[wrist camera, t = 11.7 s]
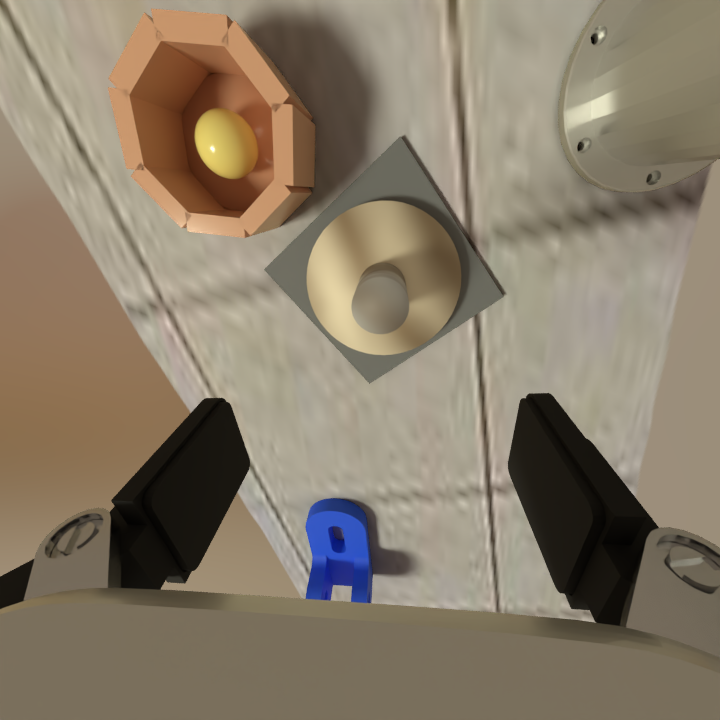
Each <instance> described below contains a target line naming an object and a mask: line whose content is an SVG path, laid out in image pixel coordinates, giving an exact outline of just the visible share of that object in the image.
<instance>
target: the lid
mask: <svg viewBox="0 0 720 720" xmlns="http://www.w3.org/2000/svg"><path fill="white" fill-rule="evenodd" d="M460 288H461V266H460V261H459V257H458V253H457V250H456V248H455V245H454V243H453V241H452V240H451V238H450V236H449V234H448V233H447V232H446V231H445V229H444V228H443V227H442V225H440V224H439V223H438V222H437V221H436V220H435V219H434V218H433V217H432V216H430V215H429V214H427V213H426V212H424V211H422V210H420V209H418V208H416V207H415V206H412V205H409V204H406V203H403V202H397V201H383V200H381V201H373V202H368V203H364V204H361V205H358V206H356V207H353V208H351V209H349V210H347V211H346V212H344V213H342V214H341V215H339V216H338V217H337V218H335V219H334V220H333V221H332V222H331V223H330V224H329V225H328V226H327V227H326V228H325V229H324V230H323V232H322V233H321V235H320V236H319V238H318V239H317V241H316V243H315V245H314V247H313V249H312V252H311V255H310V258H309V262H308V267H307V290H308V296H309V300H310V303H311V306H312V308H313V310H314V313H315V315H316V317H317V318H318V320H319V321H320V323H321V324H322V325H323V327H324V328H325V329H326V330H327V331H328V332H329V333H330V334H331V335H332V336H333V337H334V338H335V339H337V340H338V341H339V342H341V343H342V344H344V345H346V346H348V347H350V348H352V349H354V350H357V351H360V352H363V353H368V354H373V355H393V354H398V353H403V352H406V351H409V350H412V349H414V348H416V347H419V346H420V345H422V344H424V343H425V342H427V341H428V340H430V339H431V338H432V337H434V336H435V335H436V334H437V333H438V332H439V331H440V330H441V329H442V328H443V326H444V325H445V324H446V323H447V321H448V320H449V318H450V316H451V315H452V313H453V311H454V308H455V306H456V304H457V301H458V297H459V293H460Z"/></svg>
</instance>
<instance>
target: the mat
mask: <svg viewBox="0 0 720 720" xmlns="http://www.w3.org/2000/svg"><path fill="white" fill-rule="evenodd" d="M381 200H383V201H397V202H403V203H406V204H409V205H412V206H415V207H416V208H418V209H420V210H422V211H424V212H426V213H427V214H429V215H430V216H432V217H433V218H434V219H435V220H436V221H437V222H438V223H439V224H440V225H442V227H443V228H444V229H445V231H446V232H447V233H448V234H449V236H450V238H451V240H452V241H453V243H454V245H455V248H456V250H457V253H458V257H459V261H460V266H461V288H460V293H459V297H458V301H457V304H456V306H455V308H454V311H453V313H452V315H451V316H450V318H449V320H448V321H447V323H446V324H445V325H444V326H443V328H442V329H441V330H440V331H439V332H438V333H437V334H436V335H435V336H434V337H432V338H431V339H430V340H428V341H427V342H425V343H424V344H422V345H420V346H419V347H416V348H414V349H412V350H409V351H406V352H403V353H398V354H393V355H373V354H368V353H363V352H360V351H357V350H354V349H352V348H350V347H348V346H346V345H344V344H342V343H341V342H339V341H338V340H337V339H335V338H334V337H333V336H332V335H331V334H330V333H329V332H328V331H327V330H326V329H325V328H324V327H323V325H322V324H321V323H320V321H319V320H318V318H317V317H316V315H315V313H314V310H313V308H312V306H311V303H310V300H309V296H308V290H307V267H308V262H309V258H310V255H311V252H312V249H313V247H314V245H315V243H316V241H317V239H318V238H319V236H320V235H321V233H322V232H323V230H324V229H325V228H326V227H327V226H328V225H329V224H330V223H331V222H332V221H333V220H334V219H335V218H337V217H338V216H339V215H341V214H342V213H344V212H346V211H347V210H349V209H351V208H353V207H356V206H358V205H361V204H364V203H368V202H373V201H381ZM264 270H265V271H266V272H267V273H268V274H269V275H270V277H271V278H272V279H273V280H274V281H275V282H276V283H277V284H278V285H279V286H280V287H281V288H282V289H283V291H284V292H285V293H286V294H287V295H288V296H289V297H290V298H291V299H292V300H293V301H294V302H295V304H296V305H297V306H298V307H299V308H300V309H301V310H302V311H303V312H304V313H305V314H306V315H307V317H308V318H309V319H310V320H311V321H312V322H313V323H314V324H315V325H316V326H317V327H318V328H319V329H320V331H321V332H322V333H323V334H324V335H325V336H326V337H327V338H328V339H329V340H330V341H331V342H332V344H333V345H334V346H335V347H336V348H337V349H338V350H339V351H340V352H341V353H342V354H343V355H344V357H345V358H346V359H347V360H348V361H349V362H350V363H351V364H352V365H353V366H354V367H355V368H356V369H357V371H358V372H359V373H360V374H361V375H362V376H363V377H364V378H365V379H366V380H367V381H368V382H369V384H370V383H371V382H373V381H374V380H376V379H377V378H379V377H381V376H382V375H384V374H385V373H387V372H388V371H390V370H391V369H393V368H394V367H396V366H398V365H399V364H401V363H402V362H404V361H405V360H407V359H408V358H410V357H411V356H413V355H414V354H416V353H418V352H419V351H421V350H422V349H424V348H425V347H427V346H428V345H430V344H431V343H433V342H435V341H436V340H438V339H439V338H441V337H442V336H444V335H445V334H447V333H448V332H450V331H451V330H453V329H455V328H456V327H458V326H459V325H461V324H462V323H464V322H465V321H467V320H468V319H470V318H472V317H473V316H475V315H476V314H478V313H479V312H481V311H482V310H484V309H485V308H487V307H488V306H490V305H492V304H493V303H495V302H496V301H498V300H499V299H501V298H502V297H503V295H502V294H501V292H500V290H499V289H498V287H497V286H496V284H495V283H494V281H493V280H492V278H491V276H490V275H489V273H488V272H487V270H486V269H485V267H484V266H483V264H482V262H481V261H480V259H479V258H478V256H477V255H476V253H475V252H474V250H473V248H472V247H471V245H470V244H469V242H468V241H467V239H466V238H465V236H464V234H463V233H462V231H461V230H460V228H459V227H458V225H457V224H456V222H455V220H454V219H453V217H452V216H451V214H450V213H449V211H448V210H447V208H446V206H445V205H444V203H443V202H442V200H441V199H440V197H439V195H438V194H437V192H436V191H435V189H434V188H433V186H432V185H431V183H430V181H429V180H428V178H427V177H426V175H425V174H424V172H423V171H422V169H421V167H420V166H419V164H418V163H417V161H416V160H415V158H414V157H413V155H412V153H411V152H410V150H409V149H408V147H407V146H406V144H405V143H404V141H403V139H402V138H401V136H400V137H399V138H398V139H397V140H396V141H395V142H394V143H393V144H392V145H391V146H390V147H389V148H388V149H387V150H386V151H385V152H384V153H383V154H382V155H381V156H380V157H379V158H378V159H377V160H376V161H375V162H374V163H373V164H372V165H371V166H370V167H369V168H368V169H366V170H365V171H364V172H363V173H362V174H361V175H360V176H359V177H358V178H357V179H356V180H355V181H354V182H353V183H352V184H351V185H350V186H349V187H348V188H347V189H346V190H345V191H344V192H343V193H342V194H341V195H340V196H339V197H338V198H337V199H336V200H335V201H334V202H333V203H332V204H331V205H330V206H329V207H328V208H327V209H326V210H325V211H324V212H322V213H321V214H320V215H319V216H318V217H317V218H316V219H315V220H314V221H313V222H312V223H311V224H310V225H309V226H308V227H307V228H306V229H305V230H304V231H303V232H302V233H301V234H300V235H299V236H298V237H297V238H296V239H295V240H294V241H293V242H292V243H291V244H290V245H289V246H288V247H287V248H286V249H285V250H284V251H283V252H282V253H281V254H280V255H279V256H277V257H276V258H275V259H274V260H273V261H272V262H271V263H270V264H269V265H268V266H267V267H266V268H265V269H264Z"/></svg>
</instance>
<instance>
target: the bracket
mask: <svg viewBox="0 0 720 720" xmlns="http://www.w3.org/2000/svg"><path fill="white" fill-rule="evenodd" d="M332 526H337V527H340V528H341V529H342V530H343V534H344V540H338V539H336V538H335V537H334V533H333V528H332ZM306 532H307V535H308V539H309V543H310V547H311V551H312V556H313V560H312V568H311V573H310V578H309V582H308V587H307V593H306V599H315V600H329V601H330V600H331V594H332V587H333V585H344V586H352V597H351V602H358V603H371V598H372V578H373V572H372V563H371V554H370V545H369V535H368V526H367V518H366V515H365V513H364V511H363V510H362V509H361V508H360V507H359V506H357V505H356V504H354V503H352V502H350V501H347V500H343V499H336V498H331V499H324V500H321V501H318V502H316V503H315V504H314V505H313V506H312V507H311V508H310V511H309V514H308V518H307V522H306Z"/></svg>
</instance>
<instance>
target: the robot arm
mask: <svg viewBox="0 0 720 720" xmlns="http://www.w3.org/2000/svg"><path fill="white" fill-rule="evenodd" d="M591 37H593V38H594V44H592V43H591ZM558 128H559V134H560V139H561V144H562V147H563V149H564V152H565V154H566V157H567V159H568V161H569V162H570V164H571V165H572V166H573V168H574V169H575V171H576V172H577V173H578V174H579V175H580V176H582V177H583V178H584V179H585V180H586V181H588V182H589V183H591V184H593V185H595V186H597V187H600V188H602V189H605V190H611V191H616V192H643V191H651V190H656V189H659V188H662V187H666V186H669V185H672V184H675V183H677V182H679V181H681V180H684V179H686V178H688V177H690V176H692V175H694V174H696V173H697V172H699V171H701V170H702V169H704V168H705V167H707V166H708V165H710V164H711V163H713V162H714V161H716V160H717V159H720V0H603V1H602V2H601V3H600V4H599V5H598V7H597V9H596V10H595V12H594V13H593V15H592V16H591V18H590V19H589V21H588V23H587V24H586V26H585V27H584V29H583V30H582V32H581V35H580V37H579V39H578V41H577V43H576V45H575V47H574V49H573V51H572V53H571V55H570V58H569V61H568V64H567V68H566V71H565V74H564V77H563V80H562V85H561V91H560V97H559V102H558ZM578 143H580V144H581V148H580V150H579V151H577V146H578ZM647 177H648V178H647ZM646 179H647V180H646ZM249 467H250V459H249V456H248V453H247V450H246V448H245V445H244V442H243V439H242V436H241V433H240V430H239V427H238V424H237V422H236V419H235V416H234V413H233V410H232V407H231V405H230V403H228V402H226V400H225V399H223V398H206V399H204V400H203V401H202V402H201V403H200V404H199V405H198V406H197V407H196V408H195V409H194V410H193V411H192V413H191V414H190V415H189V416H188V417H187V418H186V419H185V420H184V421H183V423H181V425H180V426H179V427H178V428H177V429H176V430H175V431H174V432H173V433H172V434H171V436H170V437H169V438H168V439H167V440H166V441H165V442H164V443H163V444H162V445H161V447H160V448H159V449H158V450H157V451H156V452H155V453H154V454H153V455H152V456H151V457H150V459H149V460H148V461H147V462H146V463H145V464H144V465H143V466H142V467H141V468H140V470H139V471H138V472H137V473H136V474H135V475H134V476H133V477H132V478H131V479H130V480H129V481H128V483H127V484H126V485H125V486H124V487H123V488H122V489H121V490H120V491H119V492H118V494H117V495H116V496H115V497H114V498H113V499H112V503H113V504H114V505H115V507H114V508H113V509H112V510H111V511H110V512H109V511H108V510H106V509H104V508H94V509H89V510H86V511H83V512H80V513H78V514H76V515H74V516H72V517H70V518H68V519H67V520H65V521H64V522H63V523H61V524H60V525H58V526H57V527H56V528H55V529H54V530H52V531H51V532H50V533H49V534H48V535H47V536H46V538H45V539H44V540H43V541H42V543H41V544H40V546H39V548H38V550H37V552H36V555H35V559H33V560H31V561H29V562H27V563H25V564H23V565H21V566H20V567H18V568H16V569H14V570H12V571H10V572H8V573H6V574H4V575H3V576H1V577H0V720H720V548H719V547H718V546H716V545H715V544H713V543H711V542H709V541H707V540H705V539H704V538H702V537H700V536H698V535H695V534H692V533H690V532H687V531H684V530H680V529H675V528H670V527H669V528H659V527H658V526H657V525H656V523H655V522H654V521H653V520H652V518H651V517H650V516H649V514H648V513H647V512H646V511H645V509H644V508H643V507H642V506H641V504H640V503H639V502H638V500H637V499H636V498H635V497H634V495H633V494H632V493H631V491H630V490H629V489H628V488H627V486H626V485H625V484H624V483H623V481H622V480H621V479H620V477H619V476H618V475H617V474H616V472H615V471H614V470H613V469H612V467H611V466H610V465H609V464H608V462H607V461H606V460H605V458H604V457H603V456H602V455H601V453H600V452H599V451H598V450H597V448H596V447H595V446H594V444H593V443H592V442H591V441H590V440H588V439H586V438H585V437H584V436H583V434H582V433H581V432H580V430H579V429H578V428H577V427H576V425H575V424H574V423H573V421H572V420H571V419H570V417H569V416H568V415H567V414H566V412H565V411H564V410H563V408H562V407H561V406H560V405H559V403H558V402H557V401H556V399H555V398H554V397H553V396H552V395H551V394H549V393H535V394H528V395H527V396H526V398H523V399H521V400H520V404H519V409H518V414H517V419H516V424H515V430H514V435H513V440H512V445H511V450H510V455H509V461H508V470H509V474H510V477H511V479H512V482H513V484H514V487H515V489H516V491H517V494H518V496H519V499H520V501H521V504H522V506H523V509H524V511H525V514H526V516H527V518H528V521H529V523H530V526H531V528H532V531H533V533H534V536H535V538H536V541H537V543H538V545H539V548H540V550H541V553H542V555H543V558H544V560H545V563H546V565H547V568H548V570H549V572H550V575H551V577H552V580H553V582H554V585H555V587H556V589H557V590H558V592H560V593H565V595H566V597H567V600H568V602H569V605H570V607H571V609H581V610H590V611H591V614H592V616H593V618H594V620H595V622H597V623H594V622H587V621H580V620H570V619H559V618H549V617H538V616H527V615H516V614H506V613H494V612H480V611H467V610H453V609H440V608H427V607H413V606H400V605H386V604H372V603H358V602H343V601H329V600H315V599H300V598H285V597H270V596H255V595H238V594H224V593H208V592H192V591H175V590H161V587H162V585H163V584H164V582H165V580H166V581H167V582H171V583H186V581H187V579H188V577H189V575H190V573H191V572H192V571H194V570H195V569H196V568H197V567H198V566H199V564H200V562H201V560H202V558H203V557H204V555H205V553H206V551H207V549H208V547H209V545H210V543H211V541H212V539H213V537H214V536H215V534H216V532H217V530H218V528H219V526H220V524H221V522H222V520H223V518H224V516H225V514H226V512H227V511H228V509H229V507H230V505H231V503H232V501H233V499H234V497H235V495H236V493H237V491H238V489H239V488H240V486H241V484H242V482H243V480H244V478H245V476H246V474H247V472H248V470H249Z"/></svg>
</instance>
